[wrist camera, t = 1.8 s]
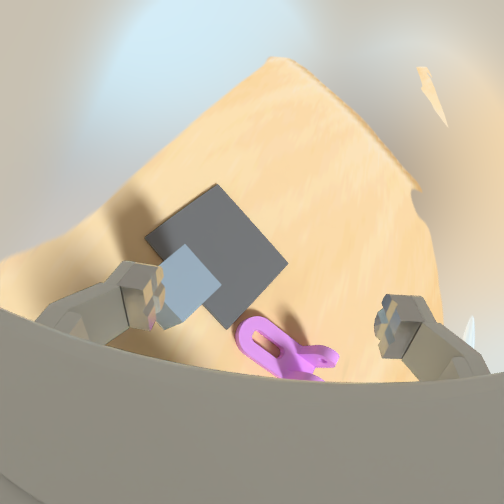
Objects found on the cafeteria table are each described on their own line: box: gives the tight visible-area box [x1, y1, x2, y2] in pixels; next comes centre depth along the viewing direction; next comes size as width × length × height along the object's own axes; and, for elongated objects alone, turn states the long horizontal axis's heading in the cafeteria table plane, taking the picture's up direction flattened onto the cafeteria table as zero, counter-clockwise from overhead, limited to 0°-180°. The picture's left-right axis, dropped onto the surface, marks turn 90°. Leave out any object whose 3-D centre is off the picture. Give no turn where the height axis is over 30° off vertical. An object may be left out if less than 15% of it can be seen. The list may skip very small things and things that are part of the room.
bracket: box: [235, 316, 339, 381], centre depth 37 cm, size 13×6×7 cm, turn 55°
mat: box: [145, 184, 288, 330], centre depth 41 cm, size 14×16×1 cm
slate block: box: [156, 244, 221, 330], centre depth 31 cm, size 5×5×12 cm
